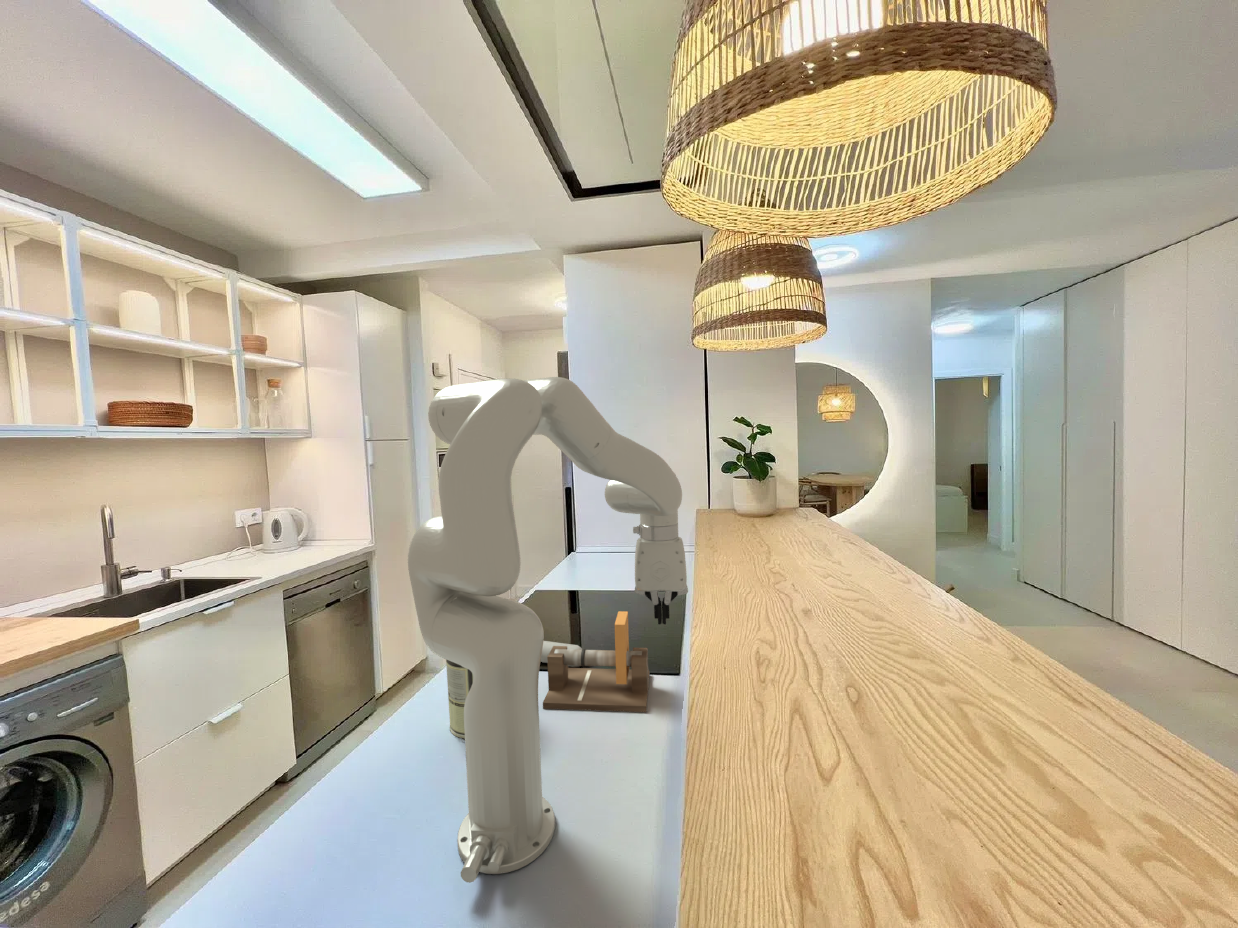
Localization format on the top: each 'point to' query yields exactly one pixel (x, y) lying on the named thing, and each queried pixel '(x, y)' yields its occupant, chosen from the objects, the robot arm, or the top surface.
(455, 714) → the coffee can
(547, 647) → the tube
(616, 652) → the orange flat block
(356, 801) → the top surface
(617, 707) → the pipe stand
